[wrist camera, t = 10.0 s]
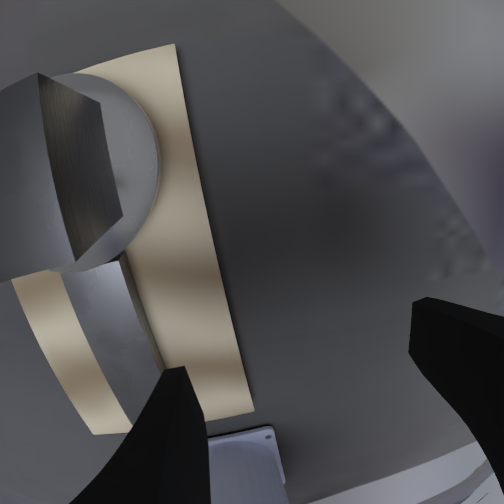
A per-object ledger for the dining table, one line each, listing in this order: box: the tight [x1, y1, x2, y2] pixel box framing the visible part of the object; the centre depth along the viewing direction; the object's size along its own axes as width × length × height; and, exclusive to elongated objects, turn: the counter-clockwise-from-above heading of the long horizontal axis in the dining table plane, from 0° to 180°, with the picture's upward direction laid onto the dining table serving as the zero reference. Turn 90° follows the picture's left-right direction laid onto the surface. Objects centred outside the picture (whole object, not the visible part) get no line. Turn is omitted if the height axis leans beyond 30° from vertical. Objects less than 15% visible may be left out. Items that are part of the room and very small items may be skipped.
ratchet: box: [48, 73, 167, 426], centre depth 13 cm, size 21×9×4 cm, turn 10°
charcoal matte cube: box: [0, 73, 123, 282], centre depth 9 cm, size 5×5×6 cm
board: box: [11, 44, 254, 435], centre depth 16 cm, size 22×12×1 cm, turn 10°
